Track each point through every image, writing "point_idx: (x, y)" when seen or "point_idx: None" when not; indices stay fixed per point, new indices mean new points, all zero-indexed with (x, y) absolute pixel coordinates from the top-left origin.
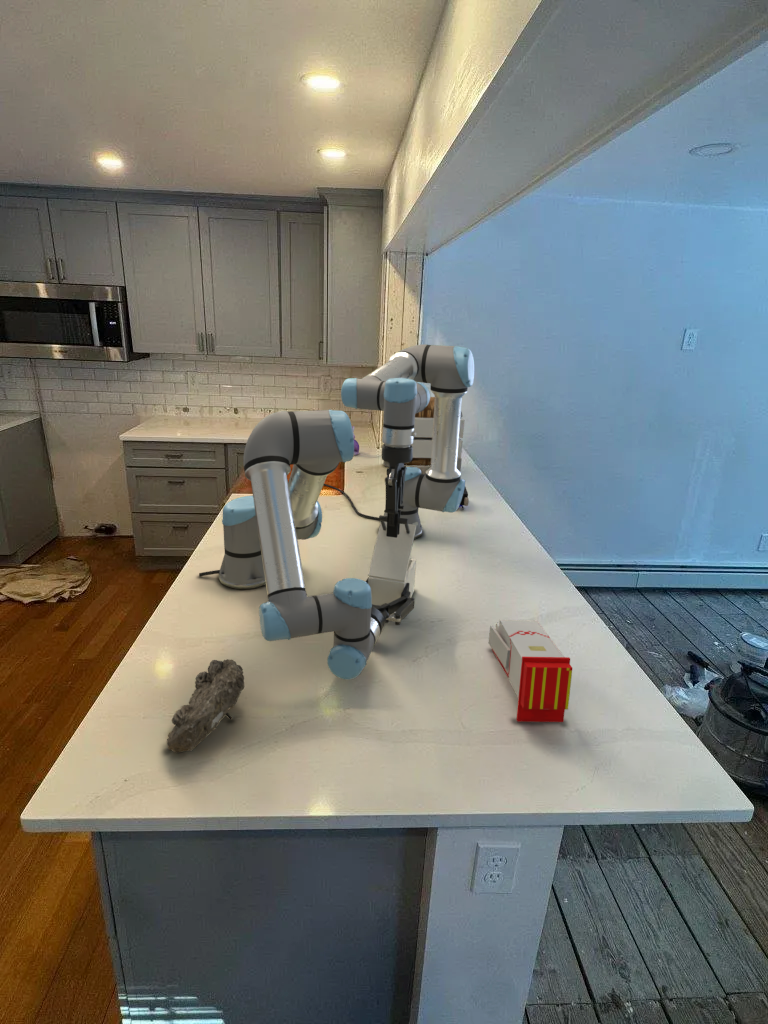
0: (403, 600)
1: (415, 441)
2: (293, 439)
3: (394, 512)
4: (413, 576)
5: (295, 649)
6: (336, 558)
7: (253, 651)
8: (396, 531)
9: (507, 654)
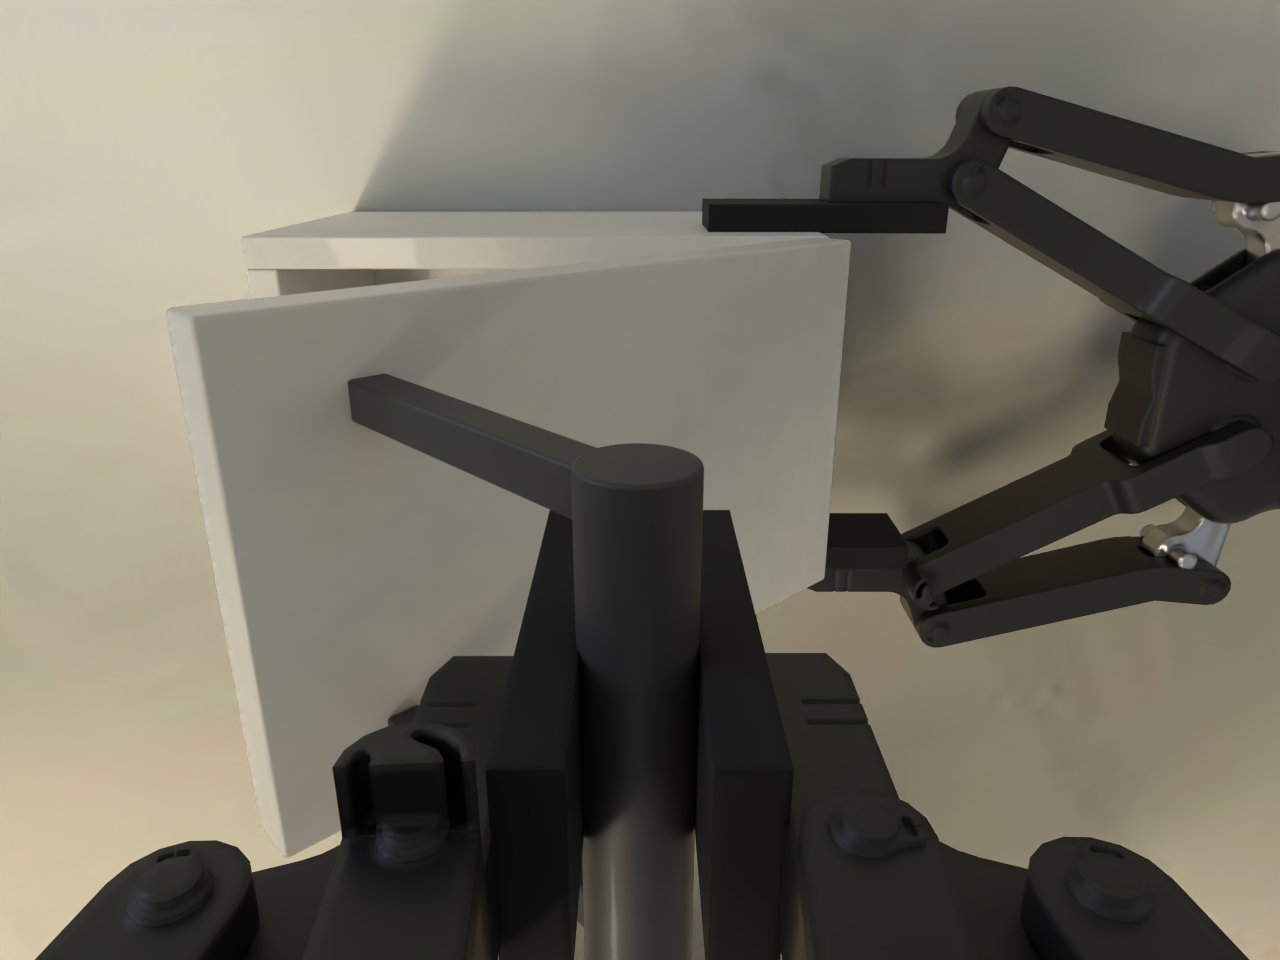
0: (1028, 189)
1: None
2: None
3: (1170, 896)
4: (385, 224)
5: (1241, 690)
6: (132, 823)
7: (1275, 846)
8: (740, 563)
9: None
